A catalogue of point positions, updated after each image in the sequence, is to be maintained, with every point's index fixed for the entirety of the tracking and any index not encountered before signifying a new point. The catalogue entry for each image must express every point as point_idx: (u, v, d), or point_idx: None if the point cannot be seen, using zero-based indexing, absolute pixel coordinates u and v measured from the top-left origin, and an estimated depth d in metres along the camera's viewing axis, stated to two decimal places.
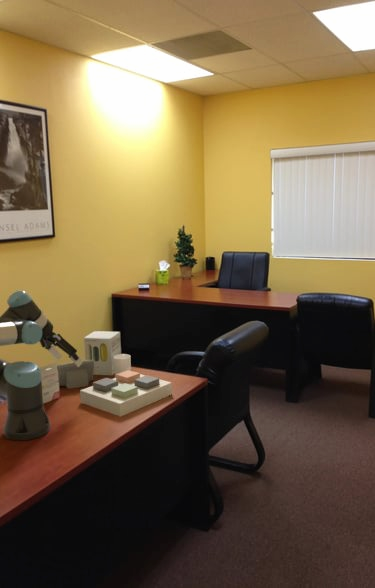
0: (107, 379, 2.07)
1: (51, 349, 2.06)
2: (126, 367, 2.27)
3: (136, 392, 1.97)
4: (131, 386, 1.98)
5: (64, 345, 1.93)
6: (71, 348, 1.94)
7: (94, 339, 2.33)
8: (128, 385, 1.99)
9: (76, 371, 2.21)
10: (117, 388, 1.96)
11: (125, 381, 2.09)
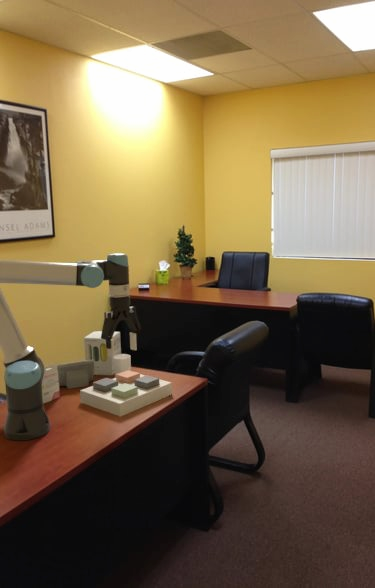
0: (107, 379, 2.07)
1: (131, 334, 1.98)
2: (126, 367, 2.27)
3: (136, 392, 1.97)
4: (131, 386, 1.98)
5: (104, 324, 1.87)
6: (104, 332, 1.87)
7: (94, 339, 2.33)
8: (128, 385, 1.99)
9: (76, 371, 2.21)
10: (117, 388, 1.96)
11: (125, 381, 2.09)
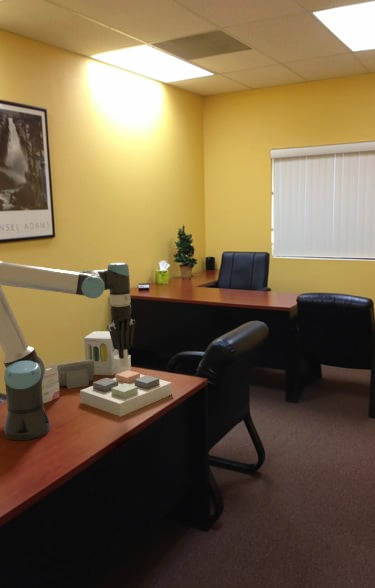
0: (107, 379, 2.07)
1: None
2: (126, 367, 2.27)
3: (136, 392, 1.97)
4: (131, 386, 1.98)
5: (111, 337, 1.90)
6: (115, 344, 1.91)
7: (94, 339, 2.33)
8: (128, 385, 1.99)
9: (76, 371, 2.21)
10: (117, 388, 1.96)
11: (125, 381, 2.09)
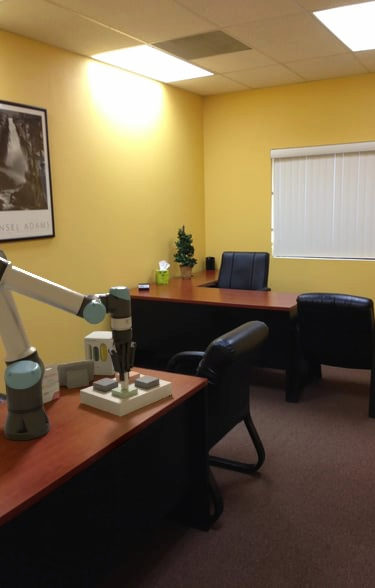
0: (107, 379, 2.07)
1: None
2: None
3: None
4: (131, 387, 1.98)
5: (112, 360, 1.92)
6: (116, 367, 1.92)
7: (94, 339, 2.33)
8: None
9: (76, 371, 2.21)
10: (117, 390, 1.96)
11: None
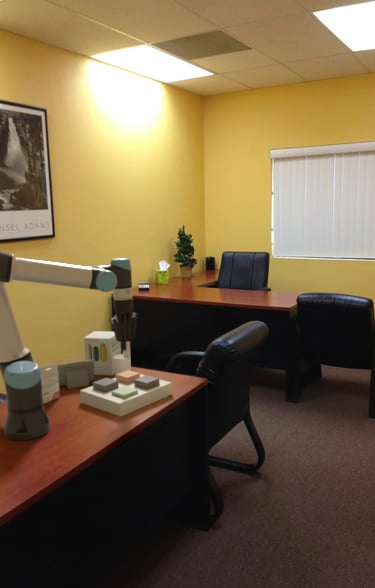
0: (107, 379, 2.07)
1: None
2: (126, 367, 2.27)
3: None
4: (131, 389, 1.98)
5: (114, 329, 1.98)
6: (117, 336, 1.98)
7: (94, 339, 2.33)
8: (128, 388, 1.99)
9: (76, 371, 2.21)
10: (118, 391, 1.96)
11: (125, 381, 2.09)
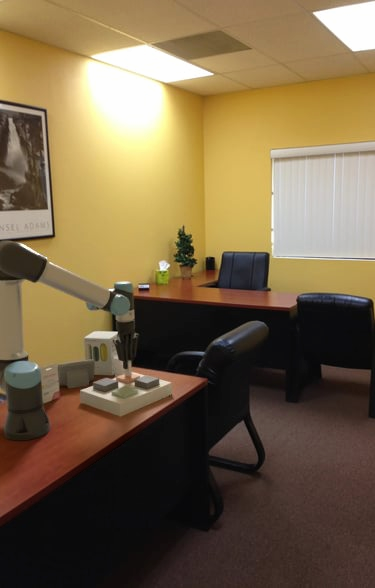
0: (107, 379, 2.07)
1: None
2: None
3: None
4: (131, 389, 1.98)
5: (117, 349, 2.08)
6: (120, 356, 2.08)
7: (94, 339, 2.33)
8: (128, 388, 1.99)
9: (77, 371, 2.22)
10: (118, 391, 1.96)
11: None
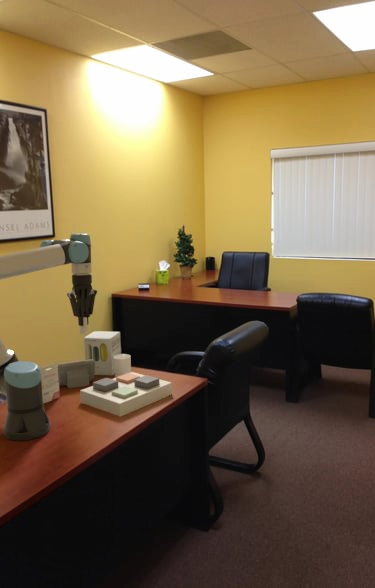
0: (107, 379, 2.07)
1: None
2: (126, 367, 2.27)
3: None
4: (131, 389, 1.98)
5: (71, 304, 1.98)
6: (75, 311, 1.99)
7: (94, 339, 2.33)
8: (128, 388, 1.99)
9: (77, 370, 2.22)
10: (118, 391, 1.96)
11: None
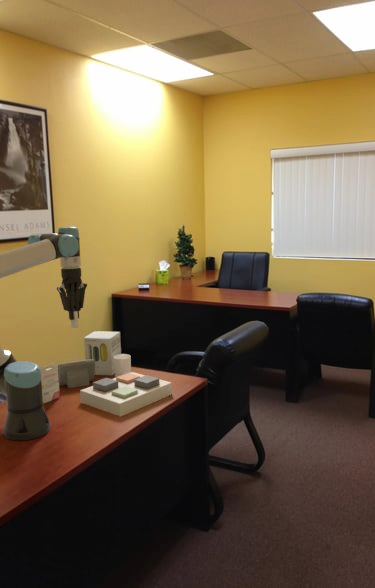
0: (107, 379, 2.07)
1: None
2: (126, 367, 2.27)
3: None
4: (131, 389, 1.98)
5: (61, 298, 1.97)
6: (65, 305, 1.97)
7: (94, 339, 2.33)
8: (128, 388, 1.99)
9: (77, 370, 2.22)
10: (118, 391, 1.96)
11: None
